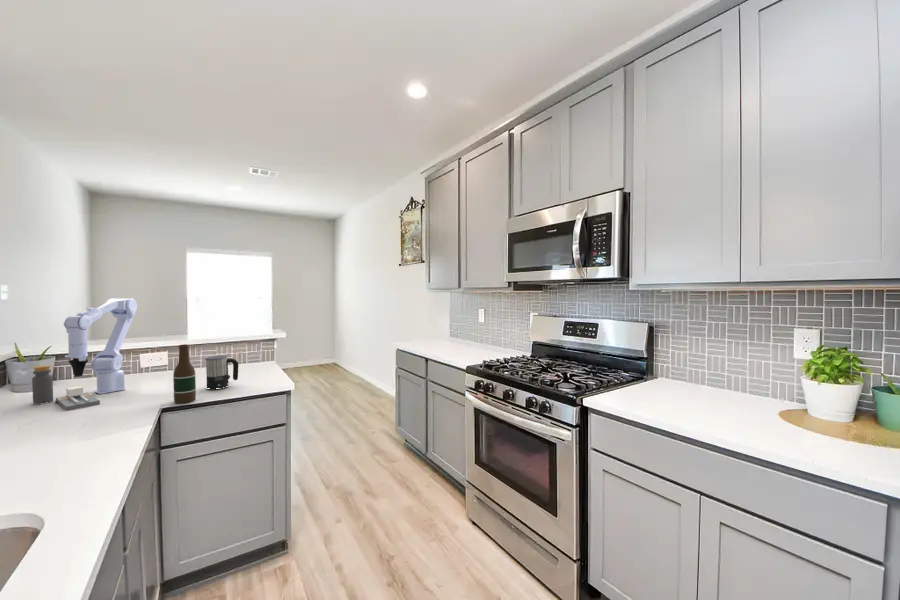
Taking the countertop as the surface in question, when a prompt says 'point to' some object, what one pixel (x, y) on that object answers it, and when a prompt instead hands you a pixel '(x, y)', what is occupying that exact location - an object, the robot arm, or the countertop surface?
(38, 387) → the bottle
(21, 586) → the countertop surface
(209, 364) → the milk frother
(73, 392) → the fader tab
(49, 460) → the countertop surface
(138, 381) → the countertop surface
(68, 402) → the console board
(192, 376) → the beer bottle
